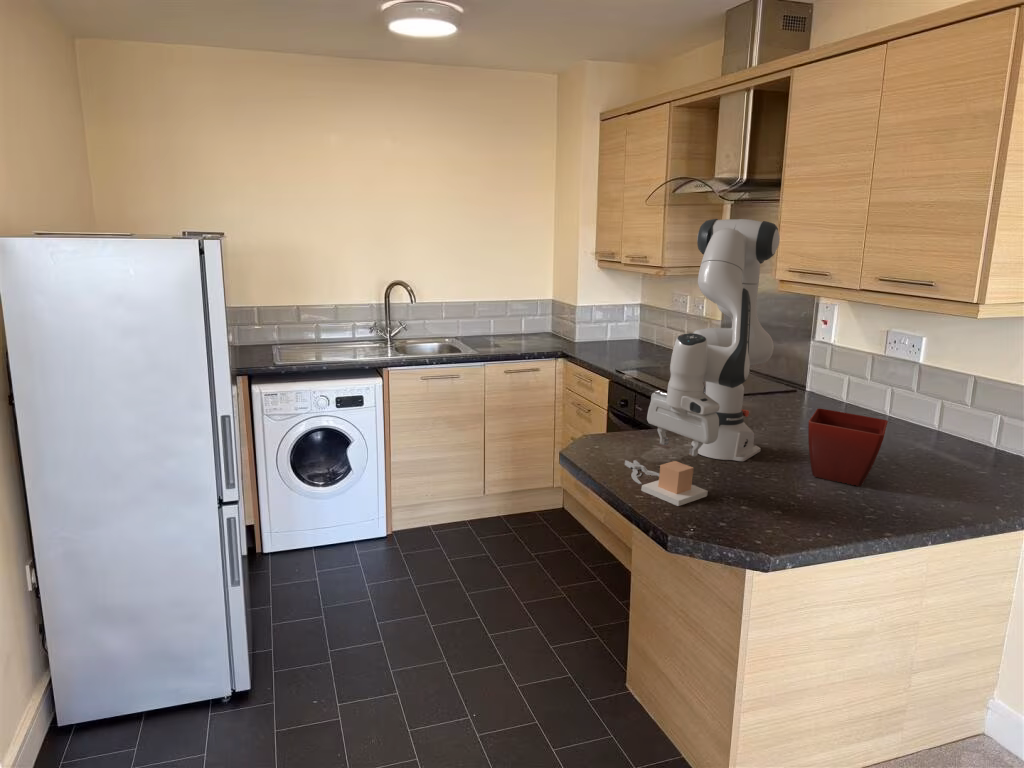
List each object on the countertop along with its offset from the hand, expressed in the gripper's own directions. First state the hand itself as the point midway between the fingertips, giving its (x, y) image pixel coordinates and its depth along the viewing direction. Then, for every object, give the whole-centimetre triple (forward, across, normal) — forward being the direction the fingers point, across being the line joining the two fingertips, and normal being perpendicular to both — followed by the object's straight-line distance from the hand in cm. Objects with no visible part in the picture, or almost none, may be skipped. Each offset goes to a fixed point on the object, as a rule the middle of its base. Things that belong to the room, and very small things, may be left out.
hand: (678, 449), depth 183 cm
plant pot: (+12, +18, +53) cm, 57 cm away
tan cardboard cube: (+10, +1, 0) cm, 10 cm away
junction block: (+12, +1, 0) cm, 12 cm away
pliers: (+13, -14, +4) cm, 19 cm away
